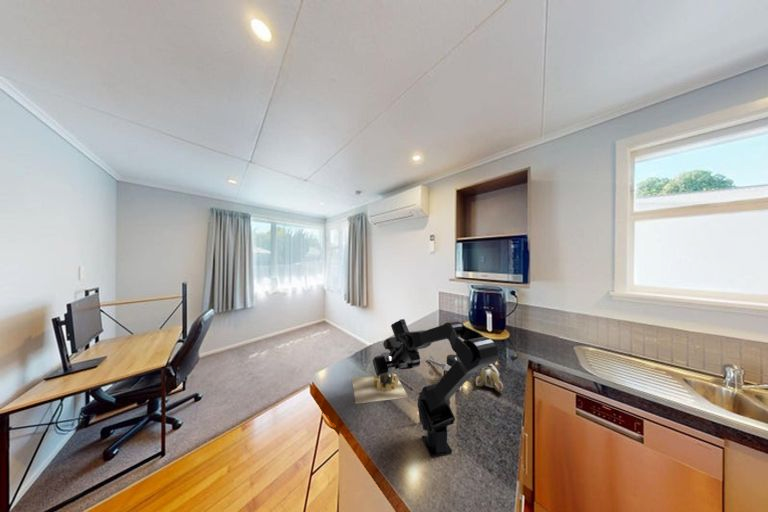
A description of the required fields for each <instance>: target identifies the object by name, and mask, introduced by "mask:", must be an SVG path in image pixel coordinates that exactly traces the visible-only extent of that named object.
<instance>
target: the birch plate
mask: <svg viewBox="0 0 768 512" xmlns="http://www.w3.org/2000/svg"><path fill="white" fill-rule="evenodd" d="M393 374H394V376H397V374H396V373H393ZM373 381H374V375H371V376H370V375H369V376H361V377H352V378H351V382H352V387H353V389H352V390H353V394H354V395H353V396H354V401H355V404H356V405H357V404H364V403H365V404H366V403H372V402H373V403H374V402H379V401H380V402H383V401H387V400H388V401H389V400H397V399H404V398H409V396H408V394H407V391H406V390H405V389H404V386H403V385H402V383H401V381H400V379H399V378H398V384H397V388H396V389H392V385H391V391H386V390H385V387H383V390H382V391H380V390H378V389H377V387H374V384H373ZM393 381H394V380H393ZM393 381H392V382H393ZM379 382H380V377H379Z"/></svg>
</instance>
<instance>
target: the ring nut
mask: <svg viewBox="0 0 768 512" xmlns="http://www.w3.org/2000/svg"><path fill="white" fill-rule="evenodd" d="M394 374H395V373H393V372H392V381H393V380H394V381H393V382H392V389H396V388H397V384H398V379H399V377H398V376H397V375H396V376H394ZM373 376H374V381H373V384H374V387H377V389H378V390H380V391H382V390H383V383H382V382H379V377H380V376H377V375H376V374H375V375H373ZM385 390H386V391H391V383H385Z"/></svg>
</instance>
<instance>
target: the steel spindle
mask: <svg viewBox="0 0 768 512" xmlns="http://www.w3.org/2000/svg"><path fill="white" fill-rule="evenodd" d="M389 353H390V352H382V353H380V356H382V355H383V356H384V357H385V360H386V362H387V361H391V357H390V355H389ZM392 373H393V368H389V369H388V373H387V374H386V375H382V376H380V382H382V383H383V387H385V383H391V385H392Z"/></svg>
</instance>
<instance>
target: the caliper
mask: <svg viewBox="0 0 768 512" xmlns="http://www.w3.org/2000/svg"><path fill="white" fill-rule="evenodd" d="M426 361H427V362H428V363H430V364H433V365H436V366H439V367H440V368H441V369H442V370H444V368H445V366H446V364H447V363H445V362H439V361H437V360H435V359H432V358H427V359H426Z"/></svg>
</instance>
